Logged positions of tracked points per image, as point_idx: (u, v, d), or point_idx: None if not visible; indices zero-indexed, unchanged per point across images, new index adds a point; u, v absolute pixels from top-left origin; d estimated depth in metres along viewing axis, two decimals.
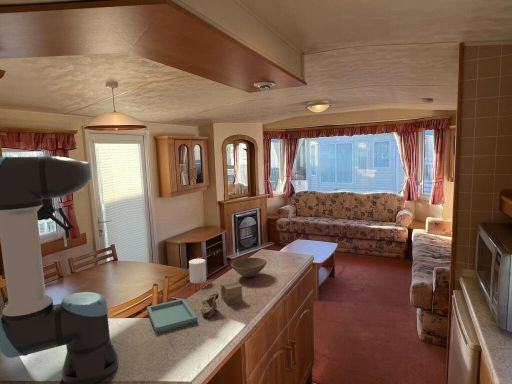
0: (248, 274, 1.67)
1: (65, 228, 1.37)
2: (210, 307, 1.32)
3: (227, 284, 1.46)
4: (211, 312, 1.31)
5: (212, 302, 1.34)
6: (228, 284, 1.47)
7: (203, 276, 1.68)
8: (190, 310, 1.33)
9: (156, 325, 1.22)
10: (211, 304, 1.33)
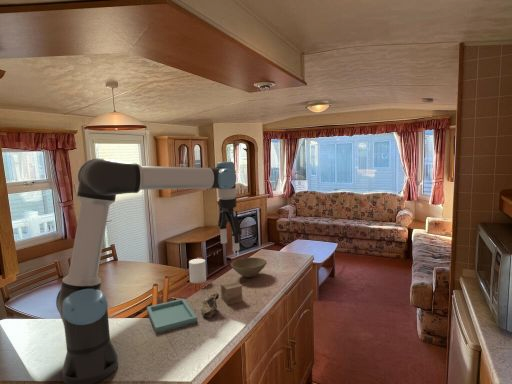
0: (248, 274, 1.67)
1: (233, 233, 1.36)
2: (210, 307, 1.32)
3: (227, 284, 1.46)
4: (211, 312, 1.30)
5: (212, 302, 1.34)
6: (228, 284, 1.47)
7: (203, 276, 1.68)
8: (190, 310, 1.33)
9: (156, 325, 1.22)
10: (211, 304, 1.33)
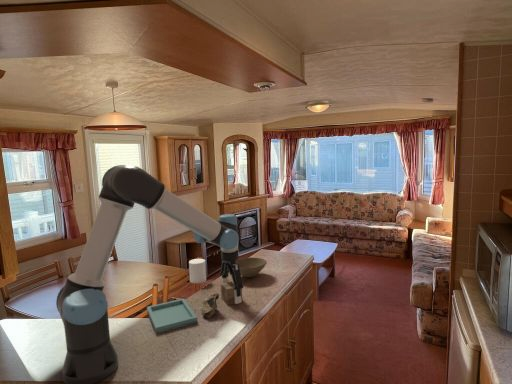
0: (248, 274, 1.67)
1: (235, 286, 1.39)
2: (210, 307, 1.32)
3: (227, 284, 1.46)
4: (211, 312, 1.30)
5: (212, 302, 1.33)
6: (228, 284, 1.47)
7: (203, 276, 1.68)
8: (190, 310, 1.33)
9: (156, 325, 1.22)
10: (211, 304, 1.33)
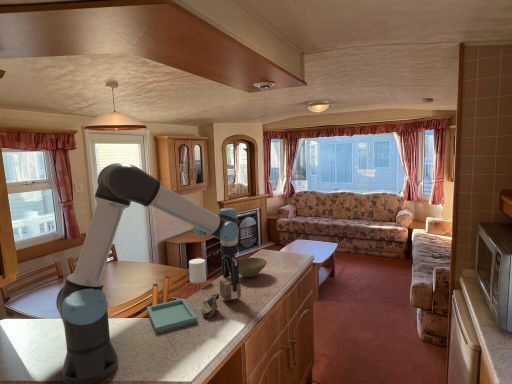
0: (248, 274, 1.67)
1: None
2: (210, 308, 1.32)
3: (226, 280, 1.46)
4: (211, 313, 1.30)
5: (212, 303, 1.33)
6: (226, 279, 1.46)
7: (203, 276, 1.68)
8: (190, 310, 1.33)
9: (156, 325, 1.22)
10: (211, 305, 1.33)
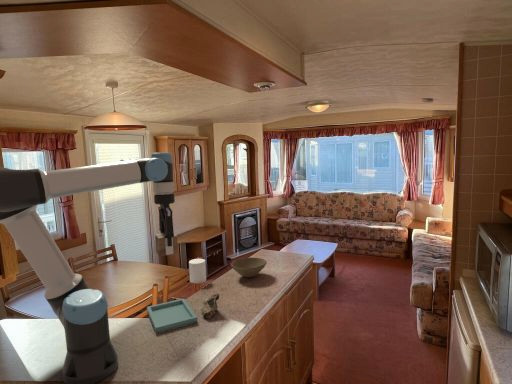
0: (248, 274, 1.67)
1: (165, 235, 1.24)
2: (210, 308, 1.32)
3: (161, 235, 1.29)
4: (211, 313, 1.30)
5: (212, 303, 1.33)
6: (163, 234, 1.30)
7: (203, 276, 1.68)
8: (190, 310, 1.33)
9: (156, 325, 1.22)
10: (211, 305, 1.33)
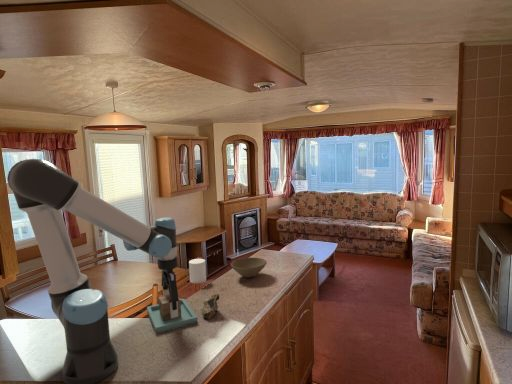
0: (248, 274, 1.67)
1: (170, 299, 1.25)
2: (210, 308, 1.31)
3: (165, 298, 1.32)
4: (211, 313, 1.30)
5: (213, 303, 1.33)
6: (166, 297, 1.33)
7: (203, 276, 1.68)
8: (190, 310, 1.33)
9: (156, 325, 1.22)
10: (211, 305, 1.32)
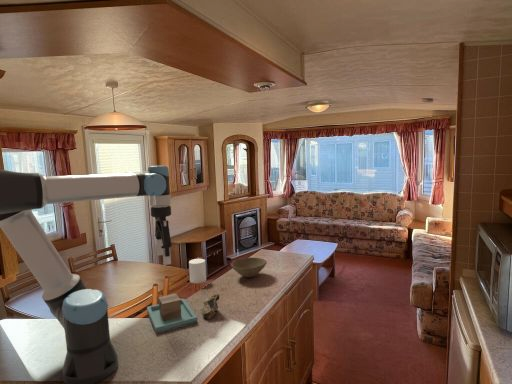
0: (248, 274, 1.67)
1: (163, 245, 1.22)
2: (210, 308, 1.31)
3: (165, 298, 1.32)
4: (211, 313, 1.29)
5: (213, 303, 1.33)
6: (166, 297, 1.33)
7: (203, 276, 1.68)
8: (190, 310, 1.33)
9: (156, 325, 1.22)
10: (211, 305, 1.32)
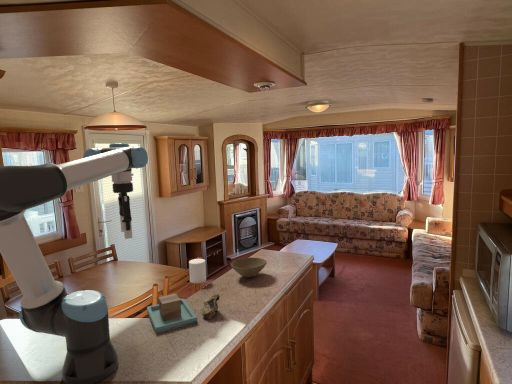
0: (248, 274, 1.67)
1: (123, 219, 1.27)
2: (210, 308, 1.31)
3: (165, 298, 1.32)
4: (211, 313, 1.29)
5: (213, 303, 1.33)
6: (166, 297, 1.33)
7: (203, 276, 1.68)
8: (190, 310, 1.33)
9: (156, 325, 1.22)
10: (212, 305, 1.32)
